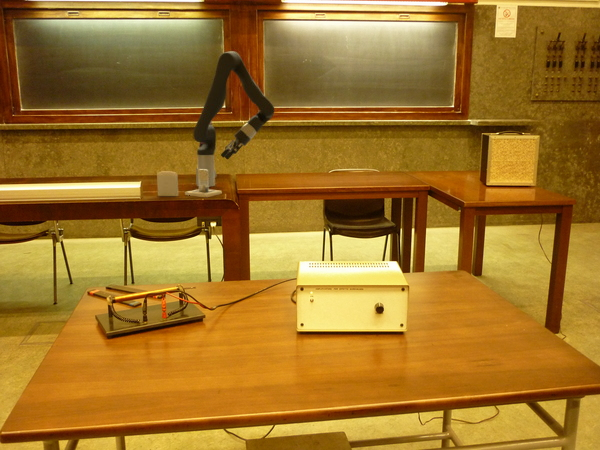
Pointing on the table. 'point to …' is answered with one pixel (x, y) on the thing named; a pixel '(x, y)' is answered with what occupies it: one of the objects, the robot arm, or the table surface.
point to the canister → (203, 180)
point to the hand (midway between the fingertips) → (223, 157)
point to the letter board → (203, 193)
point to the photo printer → (167, 183)
